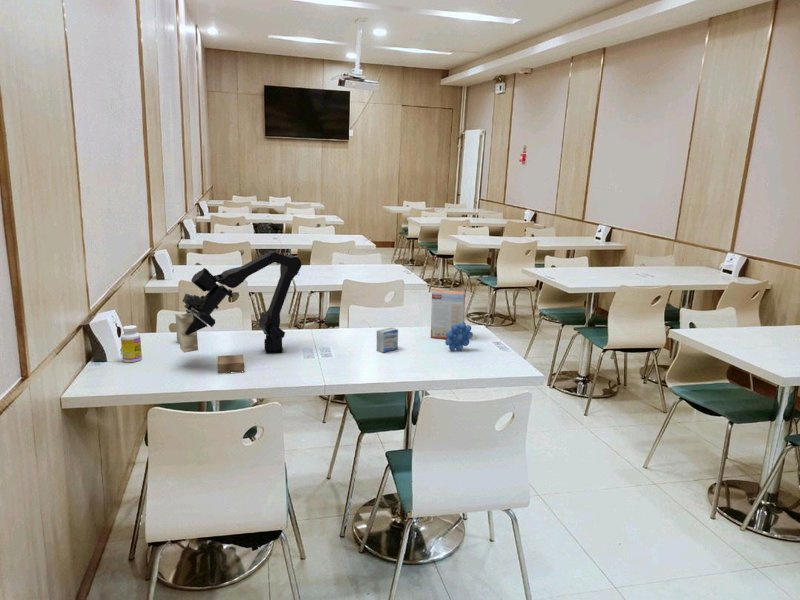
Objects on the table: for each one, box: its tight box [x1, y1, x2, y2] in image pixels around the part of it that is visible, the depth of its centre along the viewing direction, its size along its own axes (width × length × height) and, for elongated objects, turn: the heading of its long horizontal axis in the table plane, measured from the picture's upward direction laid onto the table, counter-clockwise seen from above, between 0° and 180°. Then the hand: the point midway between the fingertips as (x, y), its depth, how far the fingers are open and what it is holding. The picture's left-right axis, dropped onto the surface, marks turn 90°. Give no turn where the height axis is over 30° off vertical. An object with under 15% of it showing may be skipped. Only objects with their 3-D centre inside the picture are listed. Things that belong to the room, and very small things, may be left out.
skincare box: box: [174, 311, 187, 344], centre depth 242 cm, size 6×4×12 cm
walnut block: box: [217, 354, 245, 374], centre depth 213 cm, size 9×9×4 cm
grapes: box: [444, 321, 474, 351], centre depth 240 cm, size 12×7×12 cm, turn 103°
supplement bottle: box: [120, 324, 143, 363], centre depth 219 cm, size 7×7×13 cm
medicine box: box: [376, 327, 399, 354], centre depth 238 cm, size 8×4×9 cm, turn 131°
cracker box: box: [430, 289, 466, 340], centre depth 255 cm, size 14×6×21 cm, turn 77°
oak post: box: [178, 313, 199, 353], centre depth 213 cm, size 5×5×13 cm
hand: (184, 332), depth 212 cm, fingers closed on oak post, 5 cm apart
